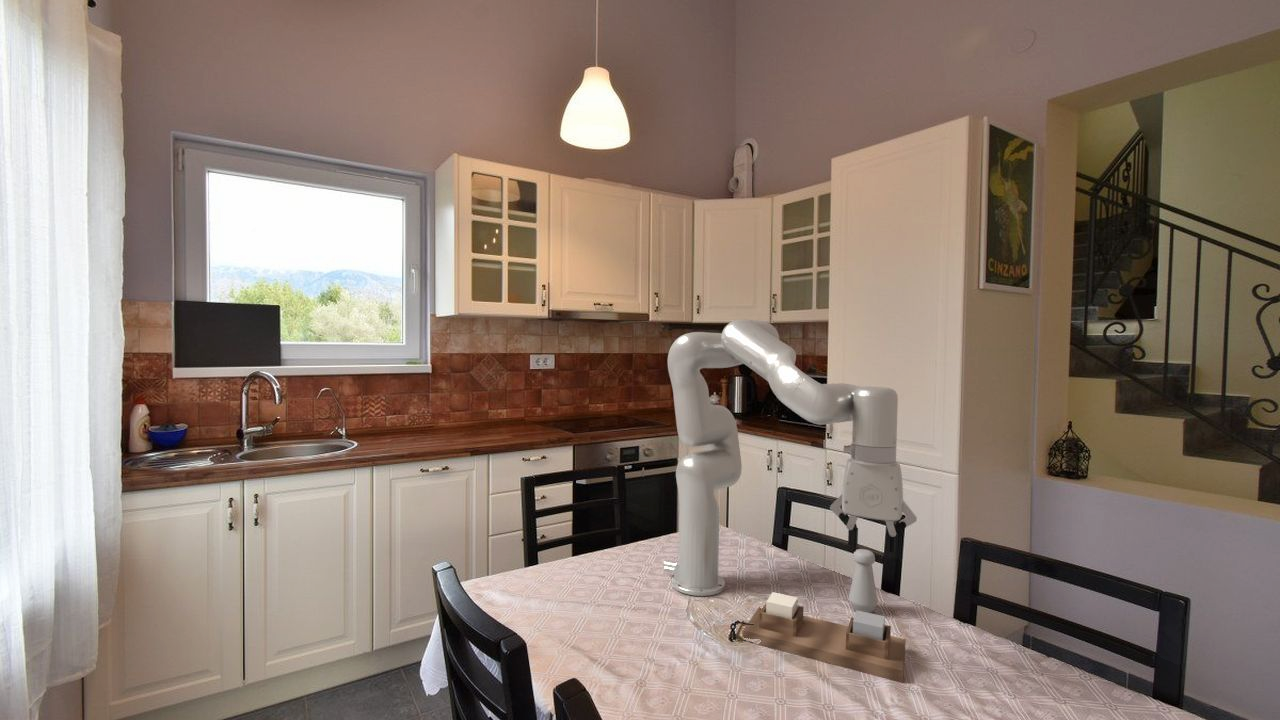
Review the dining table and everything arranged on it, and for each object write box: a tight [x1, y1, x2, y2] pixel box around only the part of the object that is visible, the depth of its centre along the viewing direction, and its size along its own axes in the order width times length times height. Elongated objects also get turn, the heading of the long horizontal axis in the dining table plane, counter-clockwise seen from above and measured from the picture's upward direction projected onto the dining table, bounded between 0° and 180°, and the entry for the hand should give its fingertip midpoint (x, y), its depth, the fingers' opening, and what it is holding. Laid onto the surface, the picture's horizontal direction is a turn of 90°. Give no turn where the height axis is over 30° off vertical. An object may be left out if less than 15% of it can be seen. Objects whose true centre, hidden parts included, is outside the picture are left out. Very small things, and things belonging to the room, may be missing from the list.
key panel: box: [742, 603, 907, 683], centre depth 108 cm, size 28×12×5 cm, turn 62°
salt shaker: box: [848, 548, 879, 614], centre depth 123 cm, size 6×6×13 cm
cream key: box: [765, 591, 799, 619], centre depth 112 cm, size 5×5×2 cm
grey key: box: [853, 610, 886, 640], centre depth 104 cm, size 5×5×2 cm
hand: (871, 551), depth 104 cm, fingers open, 5 cm apart
